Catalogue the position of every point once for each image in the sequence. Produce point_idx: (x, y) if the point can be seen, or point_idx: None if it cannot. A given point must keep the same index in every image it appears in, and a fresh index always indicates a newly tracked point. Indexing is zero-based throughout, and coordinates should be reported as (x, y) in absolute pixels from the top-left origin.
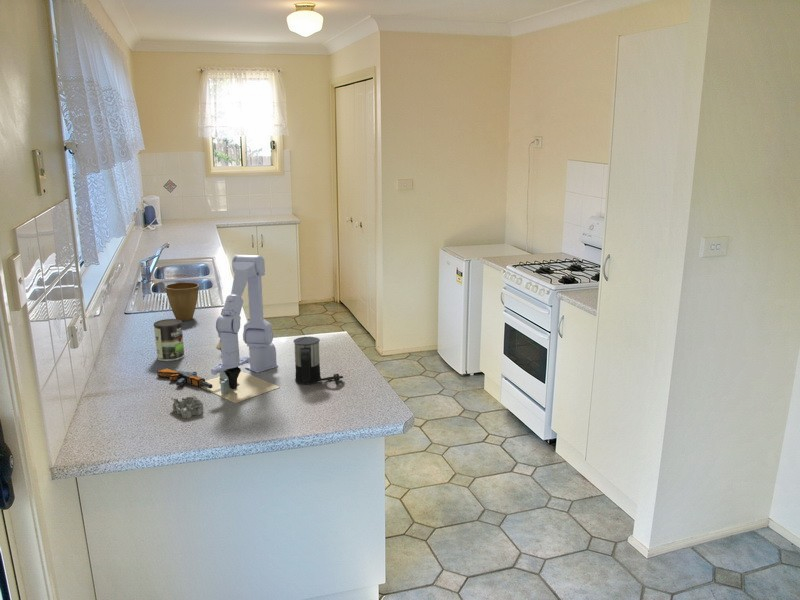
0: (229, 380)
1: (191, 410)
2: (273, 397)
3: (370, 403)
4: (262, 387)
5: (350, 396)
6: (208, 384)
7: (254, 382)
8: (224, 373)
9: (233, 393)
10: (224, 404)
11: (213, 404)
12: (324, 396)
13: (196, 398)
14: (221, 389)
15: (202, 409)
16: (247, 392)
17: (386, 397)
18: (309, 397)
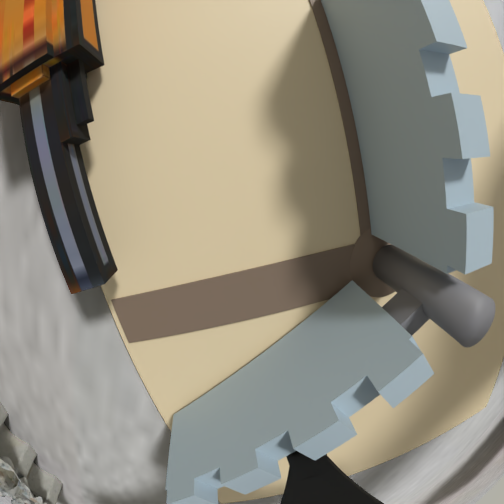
0: (291, 466)
1: (17, 489)
2: (394, 484)
3: (469, 500)
4: (454, 391)
5: (487, 476)
6: (65, 246)
7: (485, 290)
8: (390, 52)
9: None
10: (164, 490)
11: (105, 467)
12: (470, 478)
13: (6, 461)
14: (173, 448)
15: (56, 493)
16: (354, 436)
17: (499, 478)
18: (450, 483)
